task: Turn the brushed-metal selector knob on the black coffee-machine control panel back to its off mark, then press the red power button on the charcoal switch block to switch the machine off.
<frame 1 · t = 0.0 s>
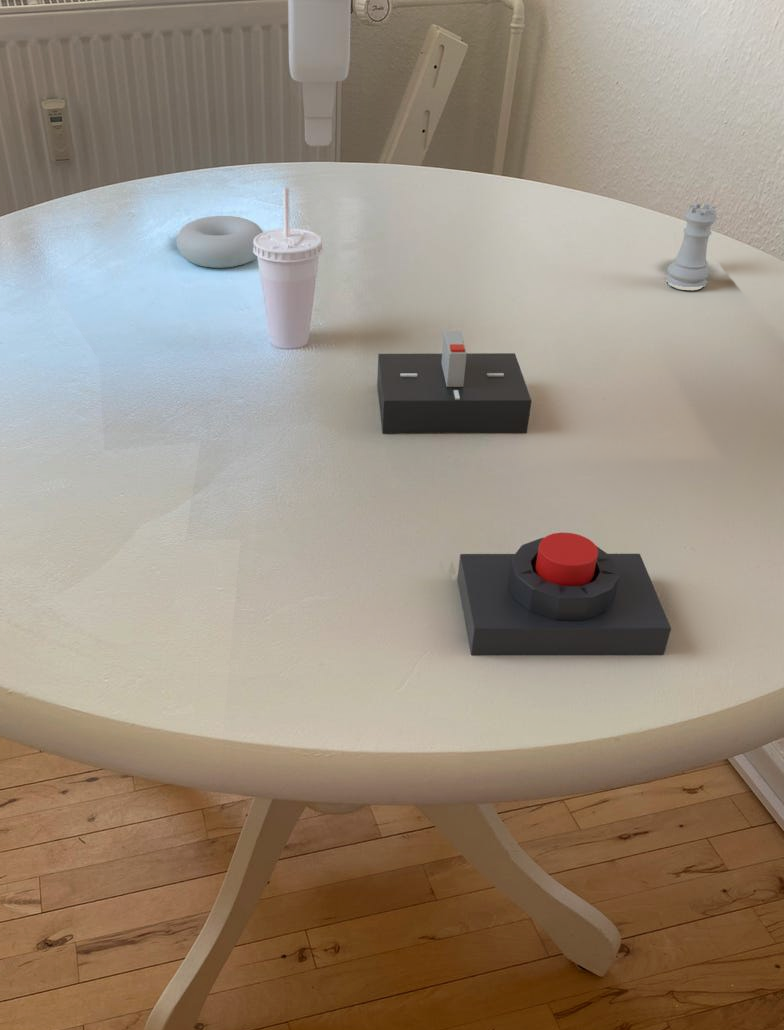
hand: (318, 124, 74), 23 cm above the table, tool pointing down, fingers open, 8 cm apart
power switch: (555, 616, 69), on the table
smoothie: (289, 342, 102), on the table
donut: (221, 258, 120), on the table
power button: (566, 559, 66), point 4 cm above the table, slide at 0.1 cm
rook chess piece: (684, 286, 113), on the table
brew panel: (449, 408, 91), on the table
selector knob: (453, 357, 88), point 5 cm above the table, hinge at 90.0°
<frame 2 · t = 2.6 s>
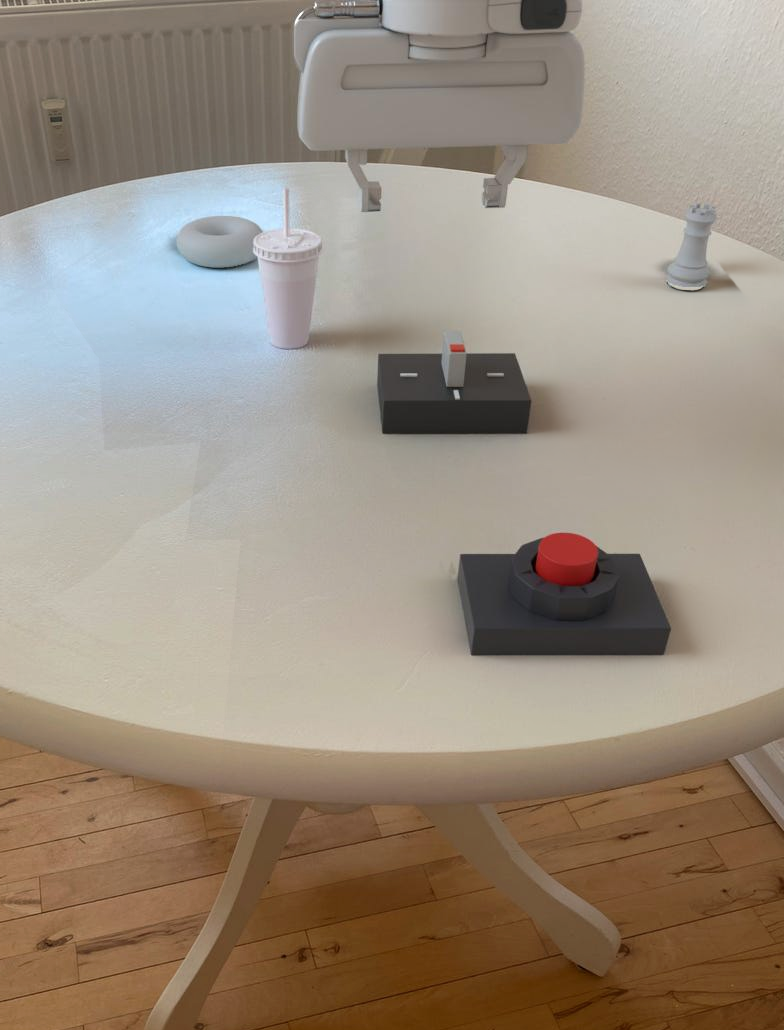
hand: (431, 207, 80), 17 cm above the table, tool pointing down, fingers open, 8 cm apart
nothing on the table moved.
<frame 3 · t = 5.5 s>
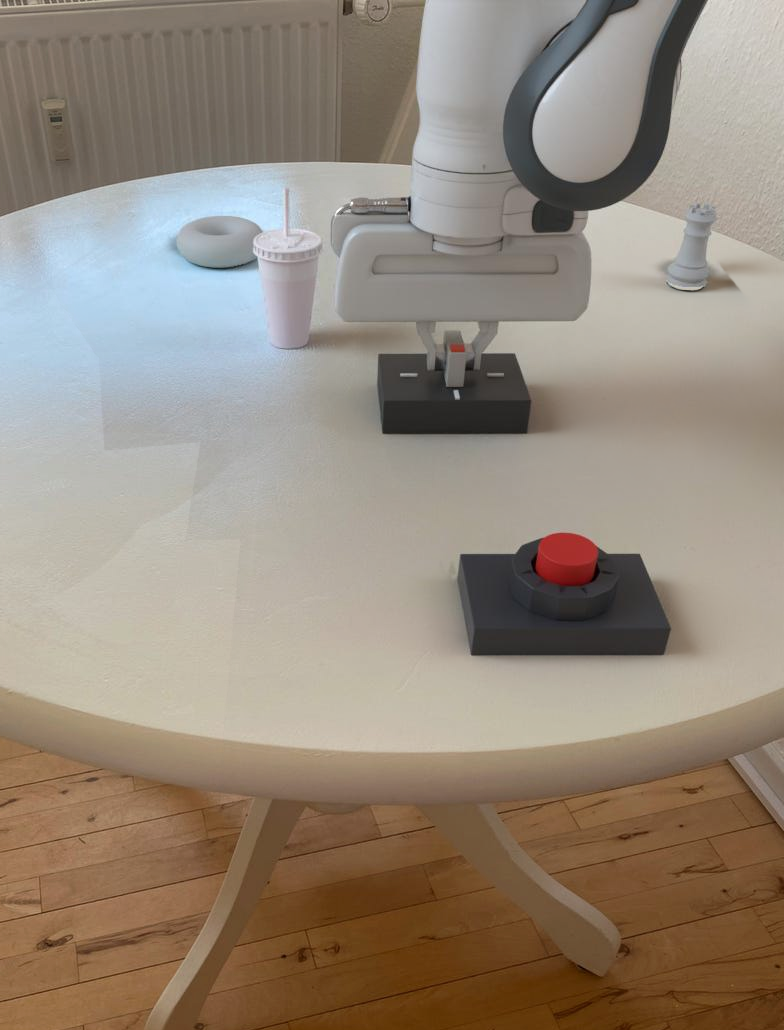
hand: (452, 368, 89), 4 cm above the table, tool pointing down, fingers closed on selector knob
selector knob: (453, 357, 88), point 5 cm above the table, hinge at 89.9°, touching gripper
everything else where it was.
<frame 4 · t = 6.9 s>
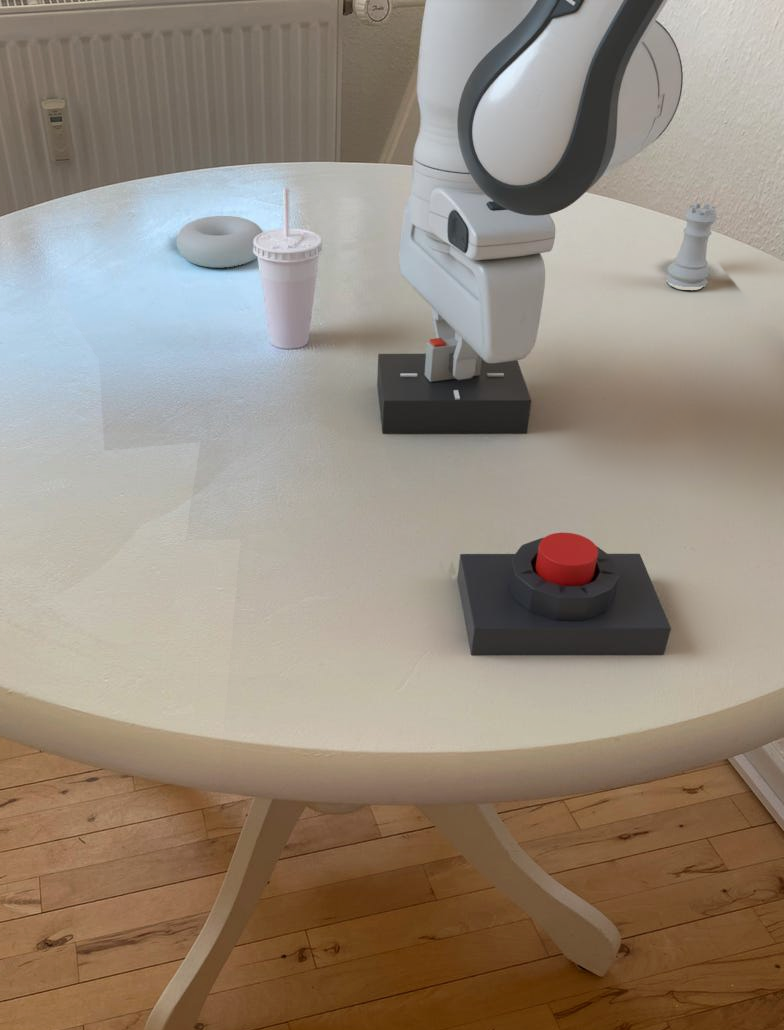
hand: (454, 368, 89), 4 cm above the table, tool pointing down, fingers closed on selector knob
selector knob: (453, 357, 88), point 5 cm above the table, hinge at 16.1°, touching gripper
everything else where it was.
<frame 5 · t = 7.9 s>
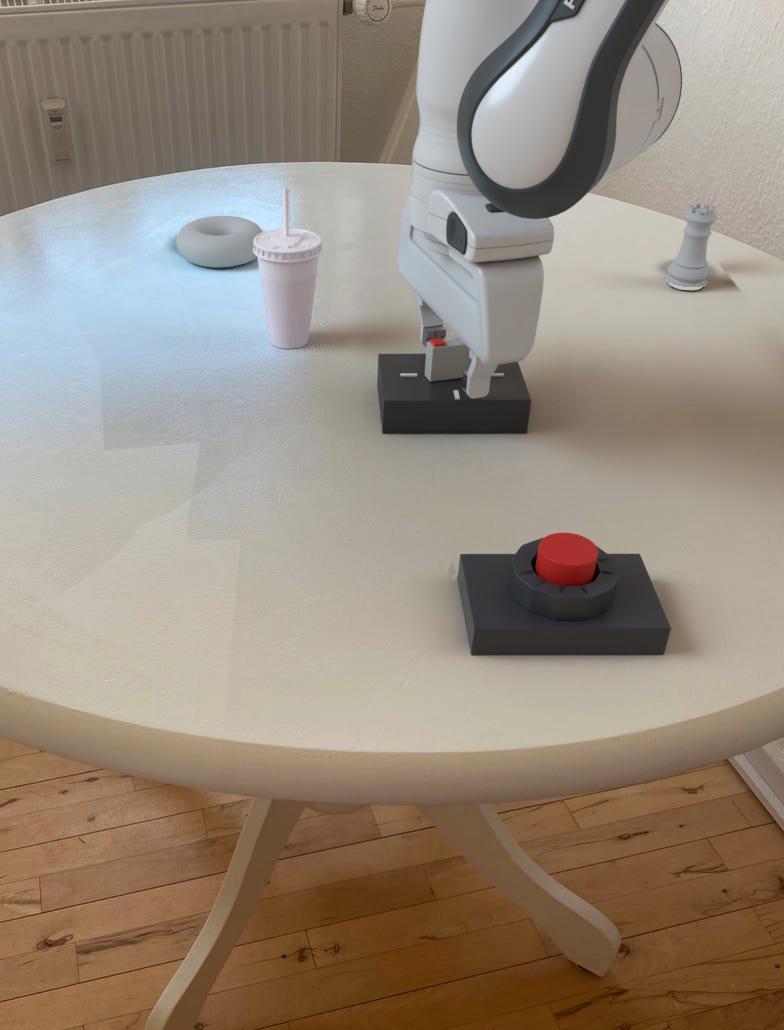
hand: (452, 369, 89), 4 cm above the table, tool pointing down, fingers open, 8 cm apart
selector knob: (453, 357, 88), point 5 cm above the table, hinge at 16.0°
everything else where it was.
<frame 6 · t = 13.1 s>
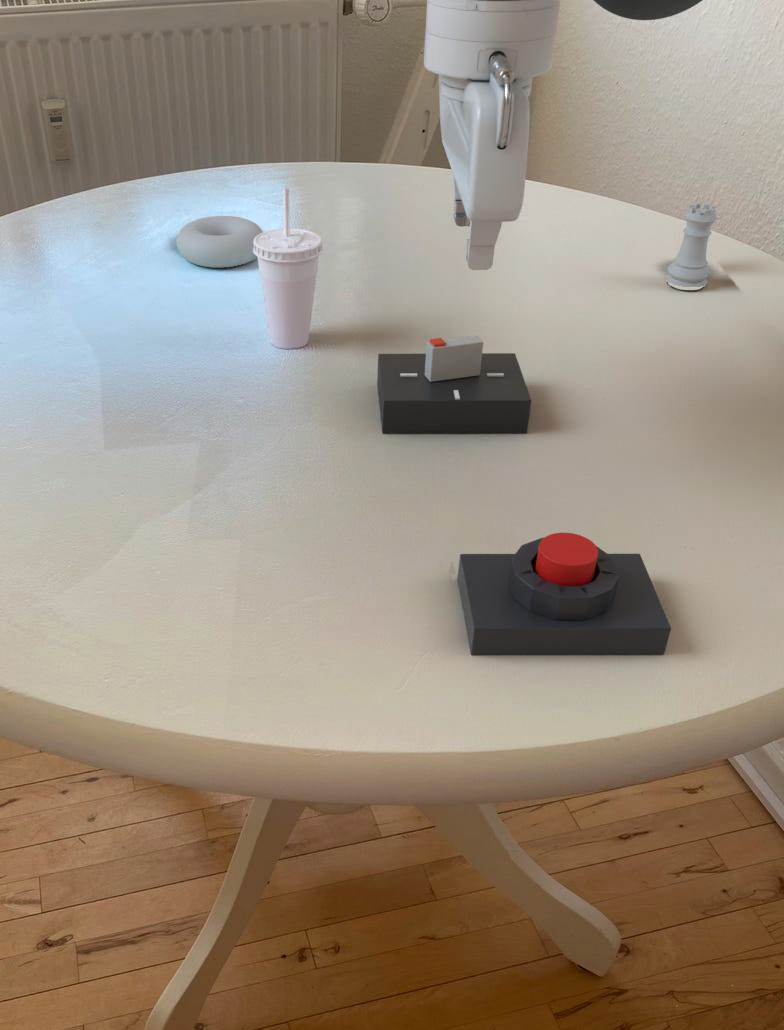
hand: (471, 244, 81), 15 cm above the table, tool pointing down, fingers open, 8 cm apart
nothing on the table moved.
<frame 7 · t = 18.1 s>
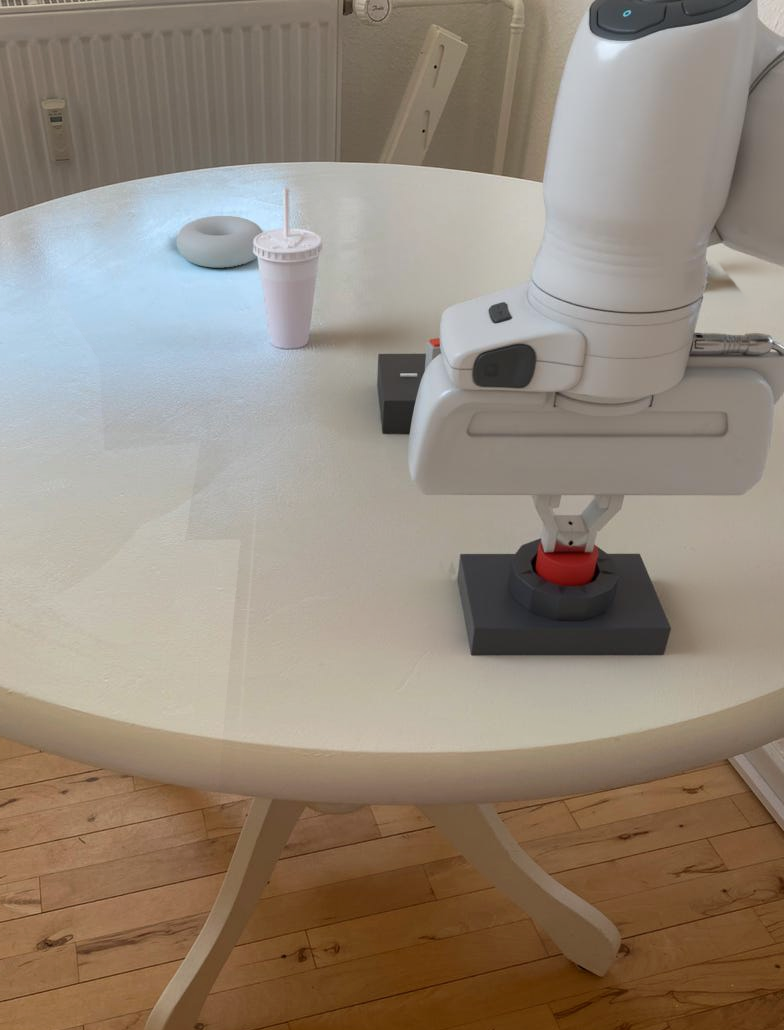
hand: (565, 547, 65), 5 cm above the table, tool pointing down, fingers closed, pressing on power button
power button: (566, 559, 66), point 4 cm above the table, slide at 0.1 cm, touching gripper
everything else where it was.
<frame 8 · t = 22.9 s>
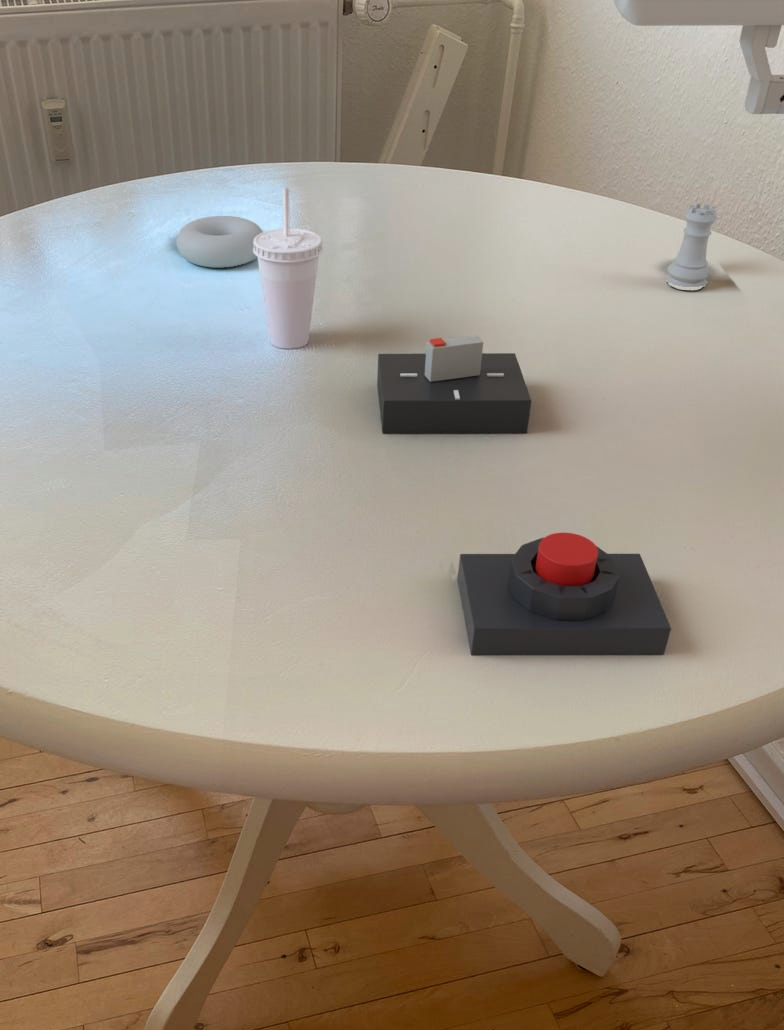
hand: (772, 112, 62), 27 cm above the table, tool pointing down, fingers closed
power button: (566, 559, 66), point 4 cm above the table, slide at 0.1 cm
everything else where it was.
at the end: selector knob at +16° (first picture: +90°); power button pushed in 1.0 cm at the most during the clip, back to where it started at the end; power button slide at 0.1 cm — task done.
